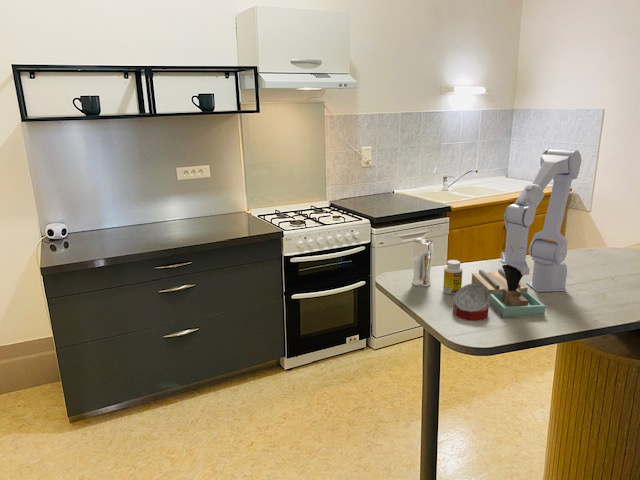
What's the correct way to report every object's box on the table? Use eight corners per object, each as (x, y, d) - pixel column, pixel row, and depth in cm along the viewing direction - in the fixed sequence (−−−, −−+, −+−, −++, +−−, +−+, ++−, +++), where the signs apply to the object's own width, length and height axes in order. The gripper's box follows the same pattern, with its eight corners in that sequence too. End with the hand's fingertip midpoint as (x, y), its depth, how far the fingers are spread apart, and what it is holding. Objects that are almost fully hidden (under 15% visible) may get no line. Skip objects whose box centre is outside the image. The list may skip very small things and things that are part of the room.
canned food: (487, 330, 141) (502, 308, 135) (456, 331, 139) (469, 309, 132) (473, 299, 149) (486, 278, 143) (443, 300, 147) (454, 278, 140)
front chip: (528, 300, 140) (527, 310, 141) (521, 295, 143) (520, 304, 144) (514, 301, 139) (513, 311, 140) (508, 296, 143) (507, 305, 144)
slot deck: (506, 283, 163) (508, 268, 161) (526, 300, 149) (528, 284, 148) (471, 284, 162) (472, 270, 161) (487, 301, 149) (489, 286, 147)
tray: (526, 300, 149) (527, 291, 148) (544, 315, 139) (545, 305, 138) (488, 302, 148) (488, 293, 148) (503, 317, 138) (503, 308, 137)
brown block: (519, 304, 145) (515, 300, 147) (521, 291, 143) (516, 288, 146) (506, 305, 144) (502, 301, 147) (507, 292, 143) (503, 288, 146)
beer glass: (423, 289, 159) (425, 245, 155) (406, 283, 164) (407, 241, 160) (436, 283, 164) (438, 240, 159) (419, 278, 169) (421, 236, 164)
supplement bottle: (452, 296, 153) (454, 266, 150) (439, 291, 158) (440, 261, 155) (464, 292, 156) (466, 262, 153) (451, 287, 161) (452, 257, 158)
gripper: (492, 239, 148) (489, 280, 152) (513, 254, 134) (509, 299, 138) (515, 238, 148) (511, 279, 152) (538, 253, 134) (533, 298, 138)
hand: (512, 289), depth 145 cm, fingers closed
